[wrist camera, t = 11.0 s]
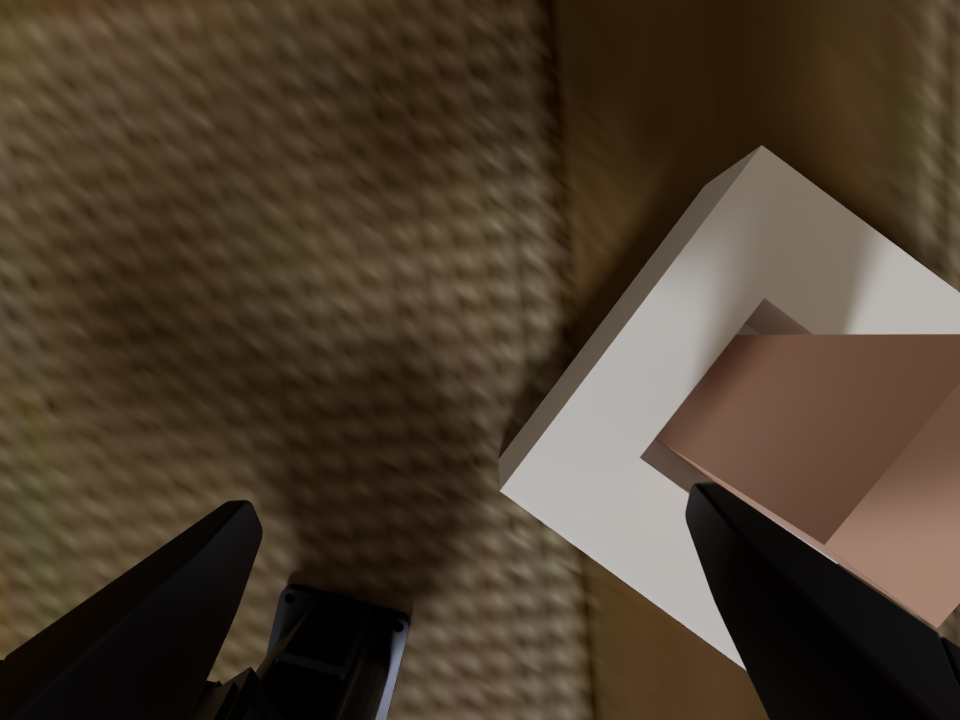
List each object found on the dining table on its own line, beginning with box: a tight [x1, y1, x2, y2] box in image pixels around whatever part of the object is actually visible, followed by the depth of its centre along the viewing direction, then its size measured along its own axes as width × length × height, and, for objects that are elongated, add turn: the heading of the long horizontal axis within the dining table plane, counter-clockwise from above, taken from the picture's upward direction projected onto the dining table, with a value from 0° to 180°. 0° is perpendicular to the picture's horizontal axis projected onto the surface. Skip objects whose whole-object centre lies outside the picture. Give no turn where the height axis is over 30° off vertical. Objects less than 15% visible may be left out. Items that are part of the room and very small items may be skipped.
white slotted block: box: [498, 145, 960, 671], centre depth 17 cm, size 16×12×4 cm
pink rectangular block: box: [655, 334, 960, 628], centre depth 13 cm, size 6×3×10 cm, turn 144°
